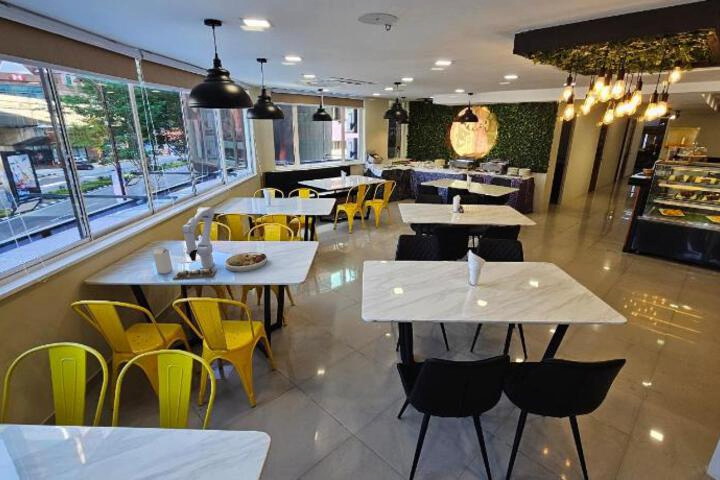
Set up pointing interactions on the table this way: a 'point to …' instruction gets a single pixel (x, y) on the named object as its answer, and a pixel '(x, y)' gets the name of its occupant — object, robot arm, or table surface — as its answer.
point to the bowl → (245, 261)
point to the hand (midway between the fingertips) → (193, 260)
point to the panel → (195, 274)
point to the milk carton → (162, 260)
